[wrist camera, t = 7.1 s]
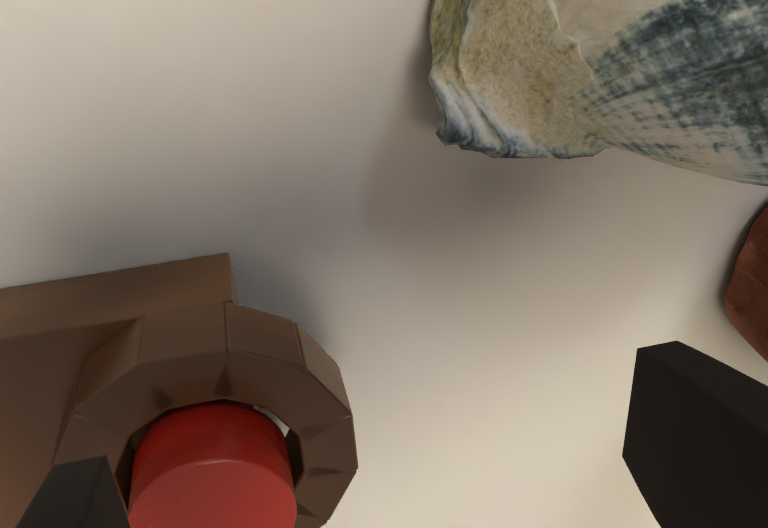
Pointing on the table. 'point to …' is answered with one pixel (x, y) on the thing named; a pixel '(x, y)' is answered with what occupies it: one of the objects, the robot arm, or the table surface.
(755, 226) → the wooden figurine
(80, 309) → the button block
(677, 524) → the robot arm
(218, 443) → the button
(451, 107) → the seashell
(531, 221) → the table surface
